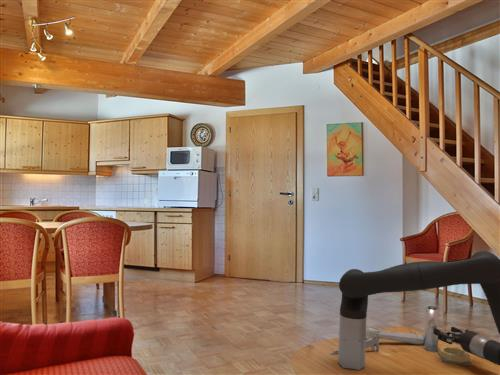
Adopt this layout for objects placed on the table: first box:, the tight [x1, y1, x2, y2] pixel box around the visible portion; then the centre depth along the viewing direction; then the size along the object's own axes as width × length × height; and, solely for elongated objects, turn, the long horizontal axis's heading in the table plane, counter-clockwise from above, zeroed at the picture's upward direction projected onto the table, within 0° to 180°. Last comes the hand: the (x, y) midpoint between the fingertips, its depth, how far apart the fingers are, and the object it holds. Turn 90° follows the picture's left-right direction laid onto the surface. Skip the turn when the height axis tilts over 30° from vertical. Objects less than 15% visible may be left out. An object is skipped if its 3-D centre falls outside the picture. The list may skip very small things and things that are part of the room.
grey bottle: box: [423, 305, 440, 353], centre depth 163 cm, size 5×5×17 cm
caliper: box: [329, 335, 380, 356], centre depth 157 cm, size 20×1×6 cm, turn 105°
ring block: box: [437, 345, 473, 367], centre depth 154 cm, size 10×10×3 cm
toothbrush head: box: [366, 327, 424, 346], centre depth 168 cm, size 5×7×25 cm
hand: (442, 330), depth 158 cm, fingers open, 8 cm apart
